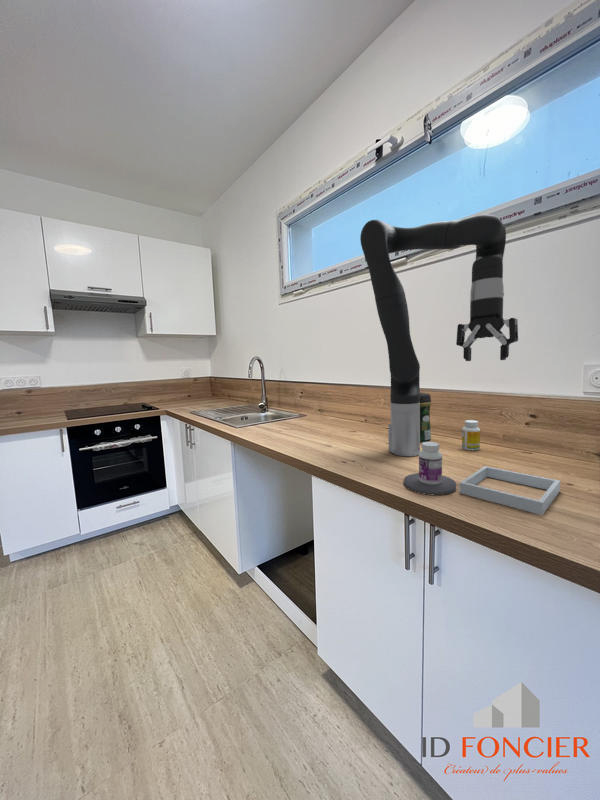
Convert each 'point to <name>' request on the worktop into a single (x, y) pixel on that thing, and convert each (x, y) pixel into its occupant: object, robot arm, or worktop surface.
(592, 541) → the worktop surface
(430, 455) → the pill bottle
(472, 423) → the supplement bottle
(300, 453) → the worktop surface
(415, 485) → the charcoal mat
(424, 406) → the coffee jar
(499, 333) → the robot arm
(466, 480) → the grey tray
